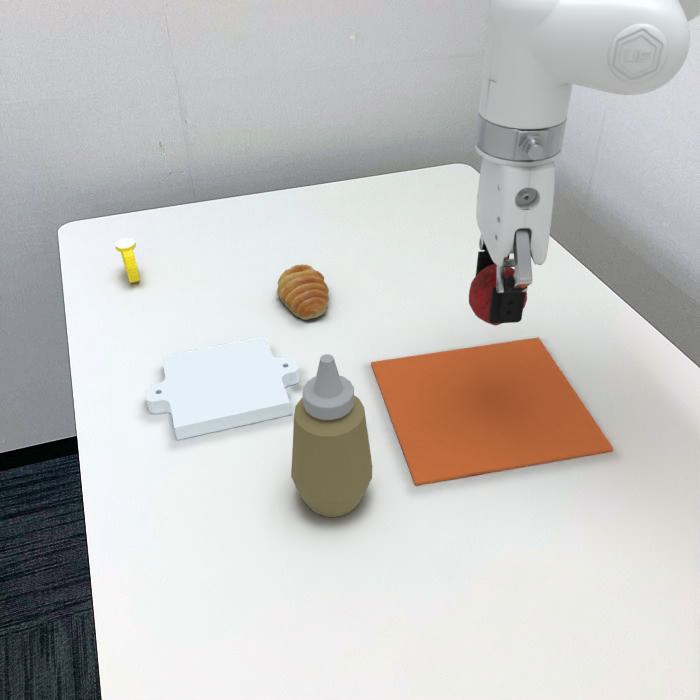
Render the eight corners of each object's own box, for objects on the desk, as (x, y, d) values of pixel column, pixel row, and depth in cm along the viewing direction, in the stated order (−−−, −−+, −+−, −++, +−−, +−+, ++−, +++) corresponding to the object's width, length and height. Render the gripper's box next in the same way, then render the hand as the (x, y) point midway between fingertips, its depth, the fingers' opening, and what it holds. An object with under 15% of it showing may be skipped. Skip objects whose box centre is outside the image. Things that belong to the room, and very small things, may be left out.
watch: (120, 269, 109) (111, 234, 105) (139, 265, 110) (130, 230, 106) (127, 290, 105) (118, 254, 101) (146, 286, 106) (138, 250, 102)
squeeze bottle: (283, 519, 73) (267, 381, 61) (306, 459, 79) (295, 325, 68) (362, 534, 71) (361, 395, 60) (380, 472, 77) (382, 336, 66)
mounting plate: (286, 343, 95) (285, 332, 93) (312, 409, 85) (311, 397, 84) (143, 372, 91) (140, 360, 89) (154, 445, 81) (150, 432, 80)
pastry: (339, 317, 99) (338, 293, 96) (290, 327, 97) (288, 304, 95) (319, 280, 106) (318, 258, 103) (274, 290, 104) (271, 267, 102)
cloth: (538, 339, 94) (538, 337, 94) (612, 451, 79) (613, 448, 79) (371, 364, 91) (370, 361, 91) (415, 485, 76) (415, 483, 76)
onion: (478, 345, 75) (487, 279, 70) (457, 313, 79) (463, 249, 74) (531, 335, 76) (542, 269, 71) (507, 304, 81) (516, 240, 76)
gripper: (593, 175, 58) (556, 352, 70) (535, 97, 72) (512, 256, 83) (499, 179, 58) (478, 356, 69) (459, 100, 71) (446, 259, 83)
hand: (497, 300), depth 76 cm, fingers closed on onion, 5 cm apart
